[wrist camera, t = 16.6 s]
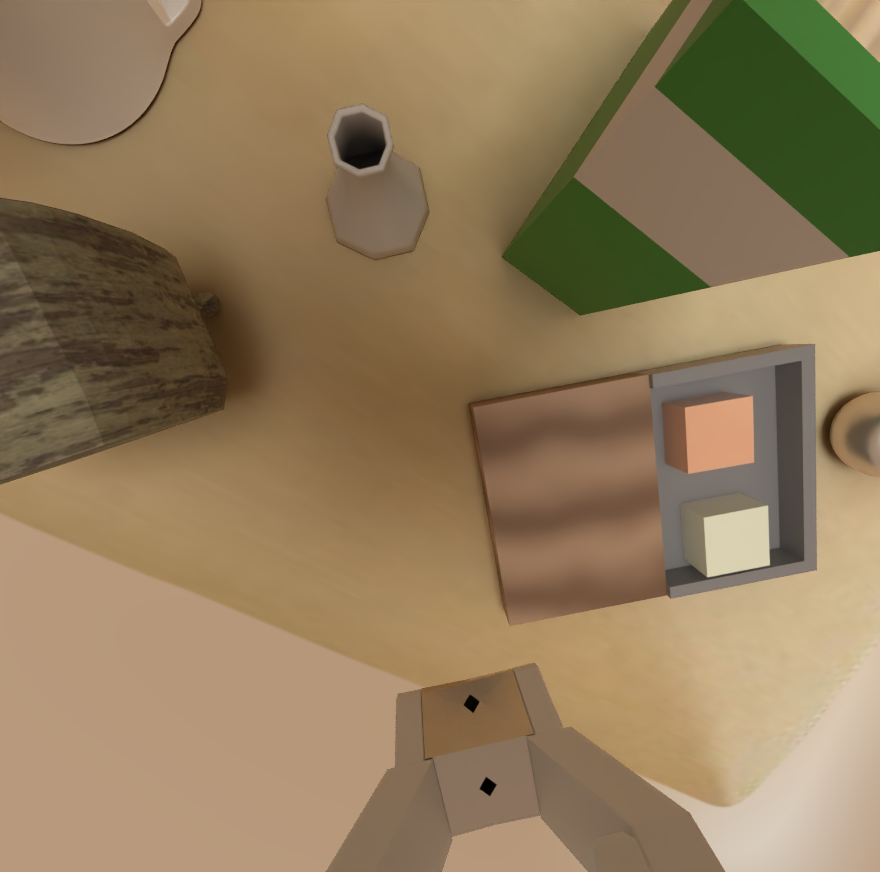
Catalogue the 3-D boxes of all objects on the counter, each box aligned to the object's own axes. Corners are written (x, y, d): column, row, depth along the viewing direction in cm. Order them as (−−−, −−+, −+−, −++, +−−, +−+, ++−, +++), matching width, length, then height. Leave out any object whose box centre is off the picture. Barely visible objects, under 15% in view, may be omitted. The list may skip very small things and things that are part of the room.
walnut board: (468, 403, 34) (472, 407, 31) (631, 372, 34) (648, 374, 32) (503, 608, 37) (509, 626, 35) (651, 579, 38) (667, 595, 35)
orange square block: (661, 402, 34) (684, 407, 31) (724, 392, 34) (752, 395, 31) (665, 463, 35) (688, 473, 32) (726, 453, 35) (754, 462, 32)
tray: (631, 372, 34) (652, 374, 31) (780, 344, 34) (814, 344, 31) (651, 579, 38) (670, 598, 35) (785, 552, 38) (816, 570, 35)
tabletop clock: (227, 272, 31) (-470, -18, 7) (277, 391, 33) (-129, 511, 8) (38, 337, 31) (-1314, 291, 7) (98, 453, 33) (-805, 744, 9)
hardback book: (650, 29, 30) (1553, -1210, 6) (730, 101, 31) (1754, -716, 7) (501, 256, 32) (737, -6, 8) (580, 315, 33) (983, 227, 10)
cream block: (680, 504, 36) (703, 517, 33) (739, 492, 36) (768, 505, 33) (684, 559, 37) (707, 577, 34) (741, 548, 37) (769, 565, 34)
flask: (329, 143, 30) (286, 43, 20) (433, 157, 30) (441, 65, 21) (324, 254, 31) (282, 211, 22) (424, 265, 32) (427, 228, 22)
